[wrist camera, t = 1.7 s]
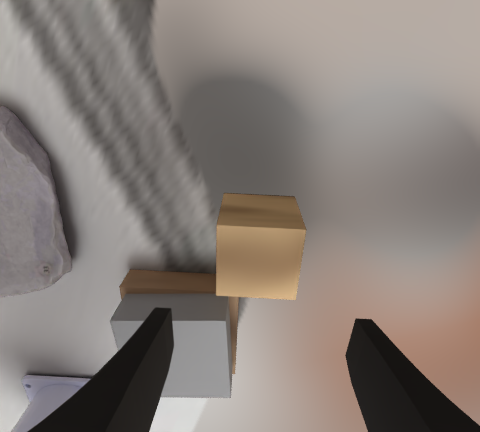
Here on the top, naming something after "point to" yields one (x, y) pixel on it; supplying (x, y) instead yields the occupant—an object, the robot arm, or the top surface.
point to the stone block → (28, 213)
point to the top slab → (186, 340)
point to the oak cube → (259, 246)
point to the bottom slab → (179, 291)
